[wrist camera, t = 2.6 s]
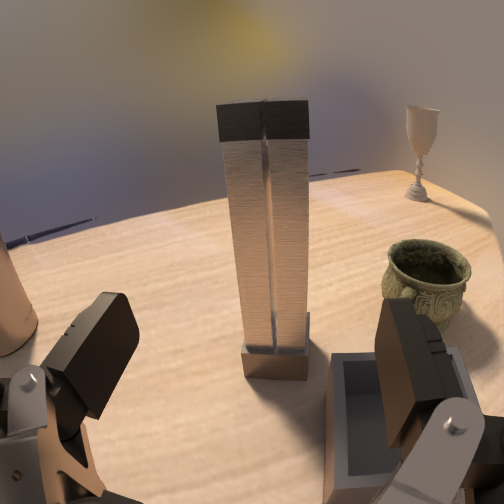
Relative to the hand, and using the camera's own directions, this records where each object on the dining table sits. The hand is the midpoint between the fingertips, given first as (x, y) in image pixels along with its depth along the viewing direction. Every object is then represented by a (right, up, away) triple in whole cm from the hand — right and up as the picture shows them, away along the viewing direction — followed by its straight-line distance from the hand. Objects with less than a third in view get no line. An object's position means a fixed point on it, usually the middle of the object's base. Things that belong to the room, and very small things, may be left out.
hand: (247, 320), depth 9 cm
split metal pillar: (+2, -7, +17) cm, 18 cm away
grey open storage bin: (+10, -11, +8) cm, 17 cm away
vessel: (+17, -4, +20) cm, 26 cm away
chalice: (+33, +13, +47) cm, 59 cm away
